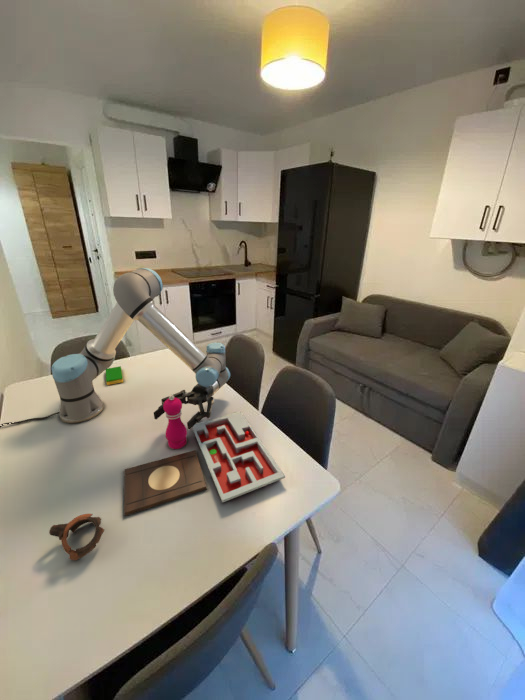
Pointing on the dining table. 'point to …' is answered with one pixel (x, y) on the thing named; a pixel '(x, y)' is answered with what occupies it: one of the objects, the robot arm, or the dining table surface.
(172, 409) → the pepper mill
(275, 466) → the maze game
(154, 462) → the board
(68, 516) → the dining table surface
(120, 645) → the dining table surface
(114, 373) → the dish sponge
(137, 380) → the dining table surface
